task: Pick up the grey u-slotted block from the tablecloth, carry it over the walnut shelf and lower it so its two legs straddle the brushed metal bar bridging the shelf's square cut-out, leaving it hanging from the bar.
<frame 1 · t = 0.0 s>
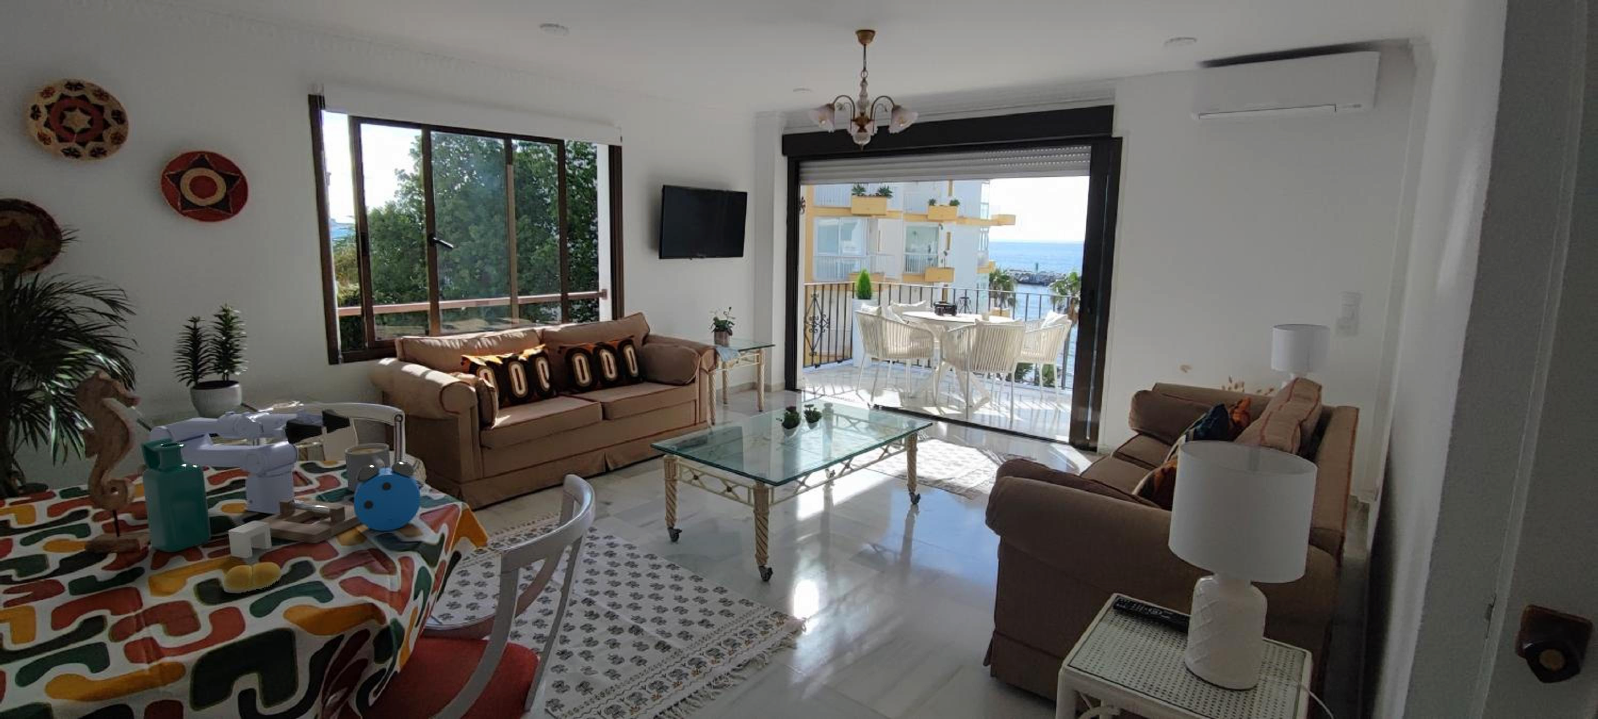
hand: (334, 426, 175), 22 cm above the table, tool horizontal, fingers open, 7 cm apart
bread roll: (252, 585, 145), on the table
coffee mug: (371, 488, 198), on the table
teal bottle: (180, 543, 162), on the table
alarm clock: (389, 527, 173), on the table
grey u-slotted block: (251, 551, 159), on the table
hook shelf: (313, 524, 173), on the table
hook bar: (312, 508, 172), point 3 cm above the table
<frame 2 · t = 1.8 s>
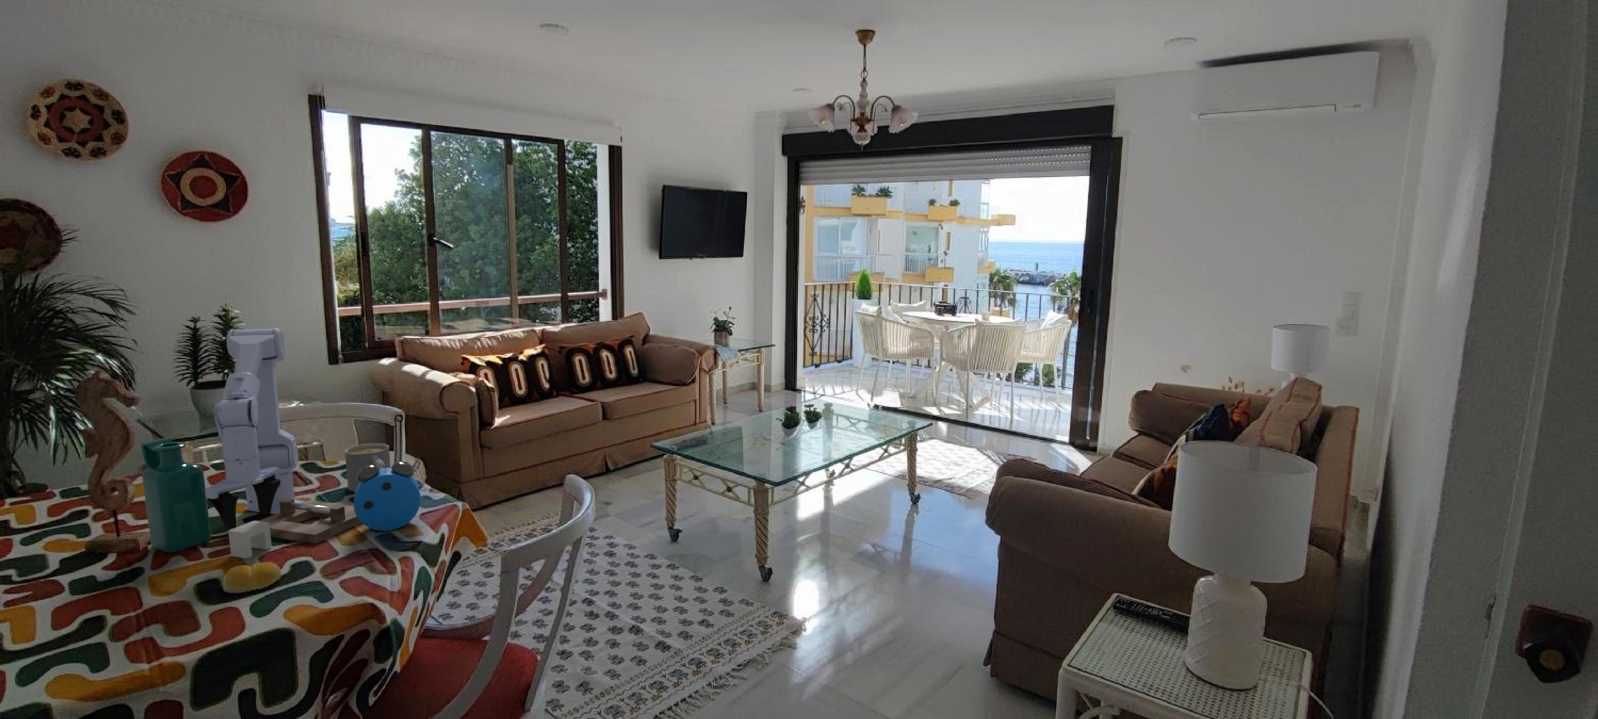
hand: (248, 520, 158), 7 cm above the table, tool pointing down, fingers open, 7 cm apart
nothing on the table moved.
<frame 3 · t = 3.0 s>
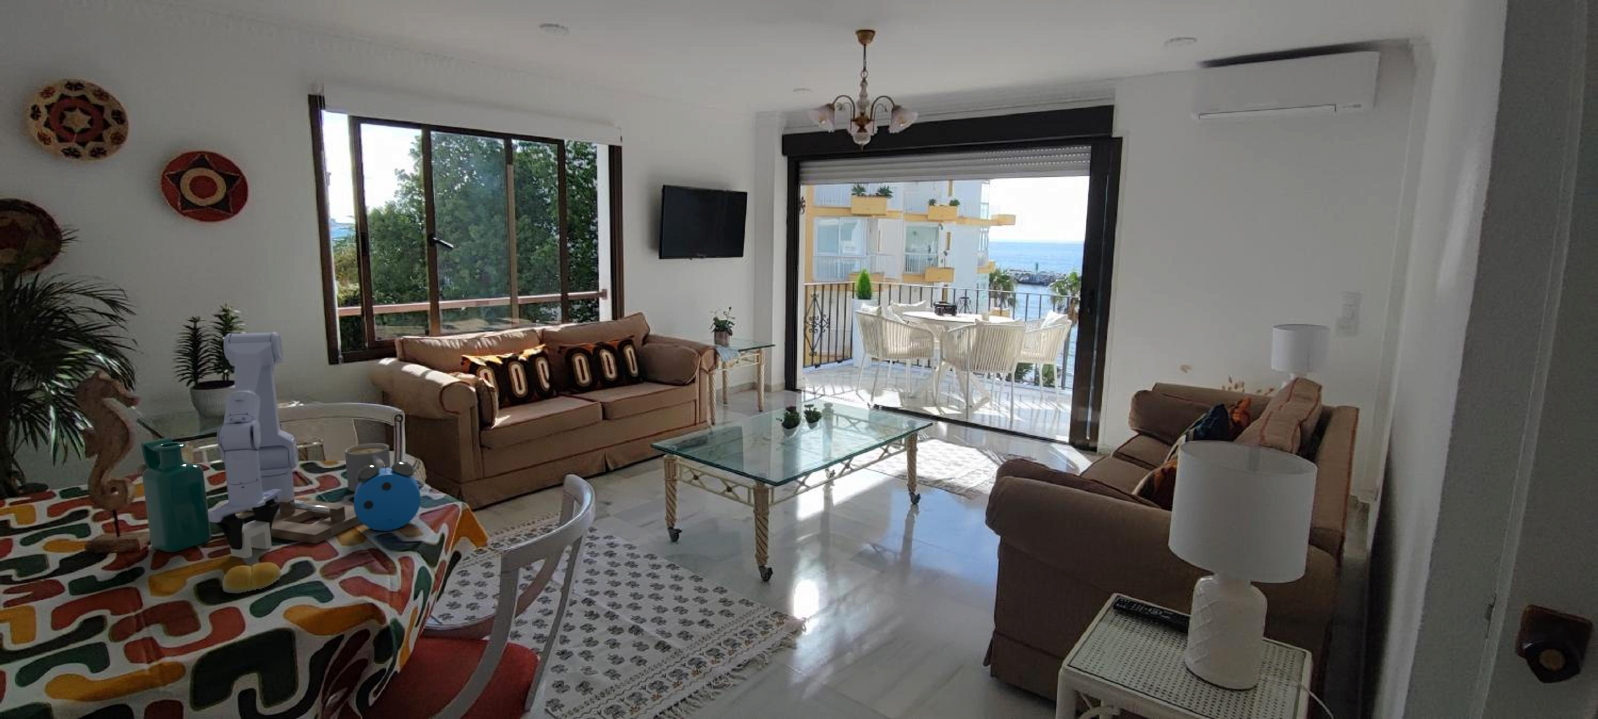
hand: (250, 542, 159), 2 cm above the table, tool pointing down, fingers closed on grey u-slotted block, 6 cm apart
grey u-slotted block: (251, 551, 159), on the table, touching gripper
everything else where it was.
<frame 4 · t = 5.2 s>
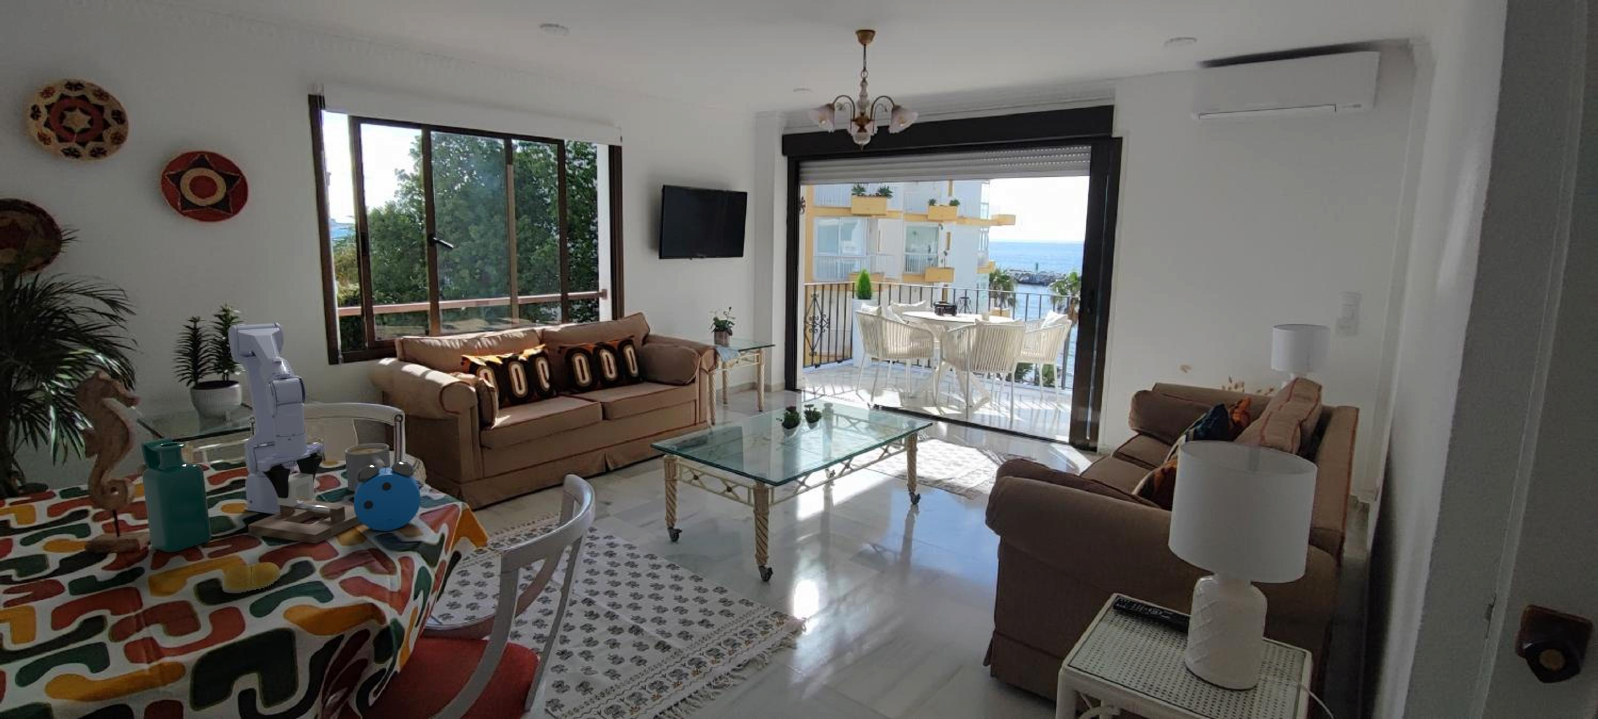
hand: (295, 492, 168), 9 cm above the table, tool pointing down, fingers closed on grey u-slotted block, 6 cm apart
grey u-slotted block: (296, 501, 169), point 7 cm above the table, touching gripper
everything else where it was.
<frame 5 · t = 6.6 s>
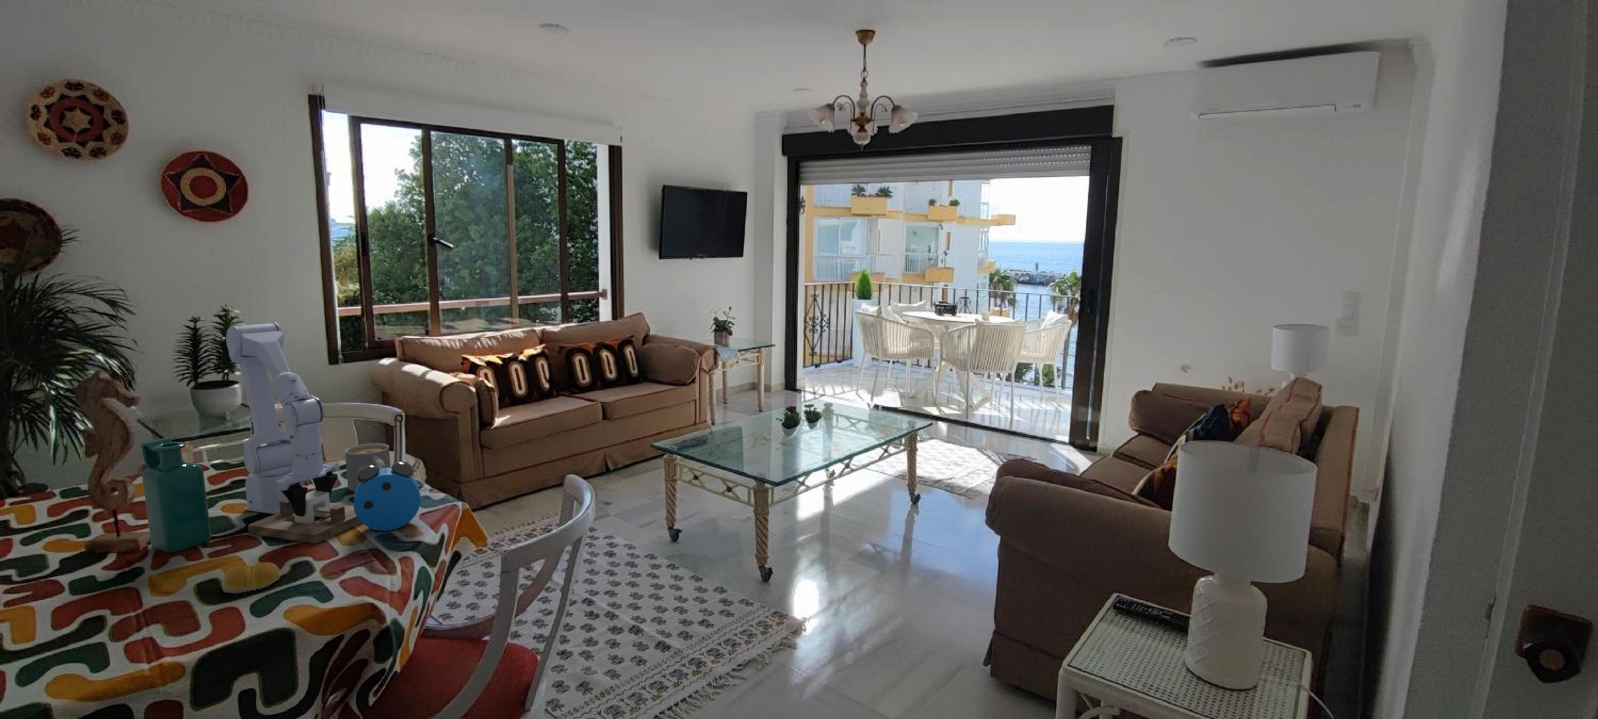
hand: (312, 510, 173), 3 cm above the table, tool pointing down, fingers closed on grey u-slotted block, 6 cm apart
grey u-slotted block: (313, 518, 173), point 1 cm above the table, touching gripper
everything else where it was.
when the fingers open (3 cm above the table, at t = 7.5 s): grey u-slotted block stays where it is, resting on hook bar.
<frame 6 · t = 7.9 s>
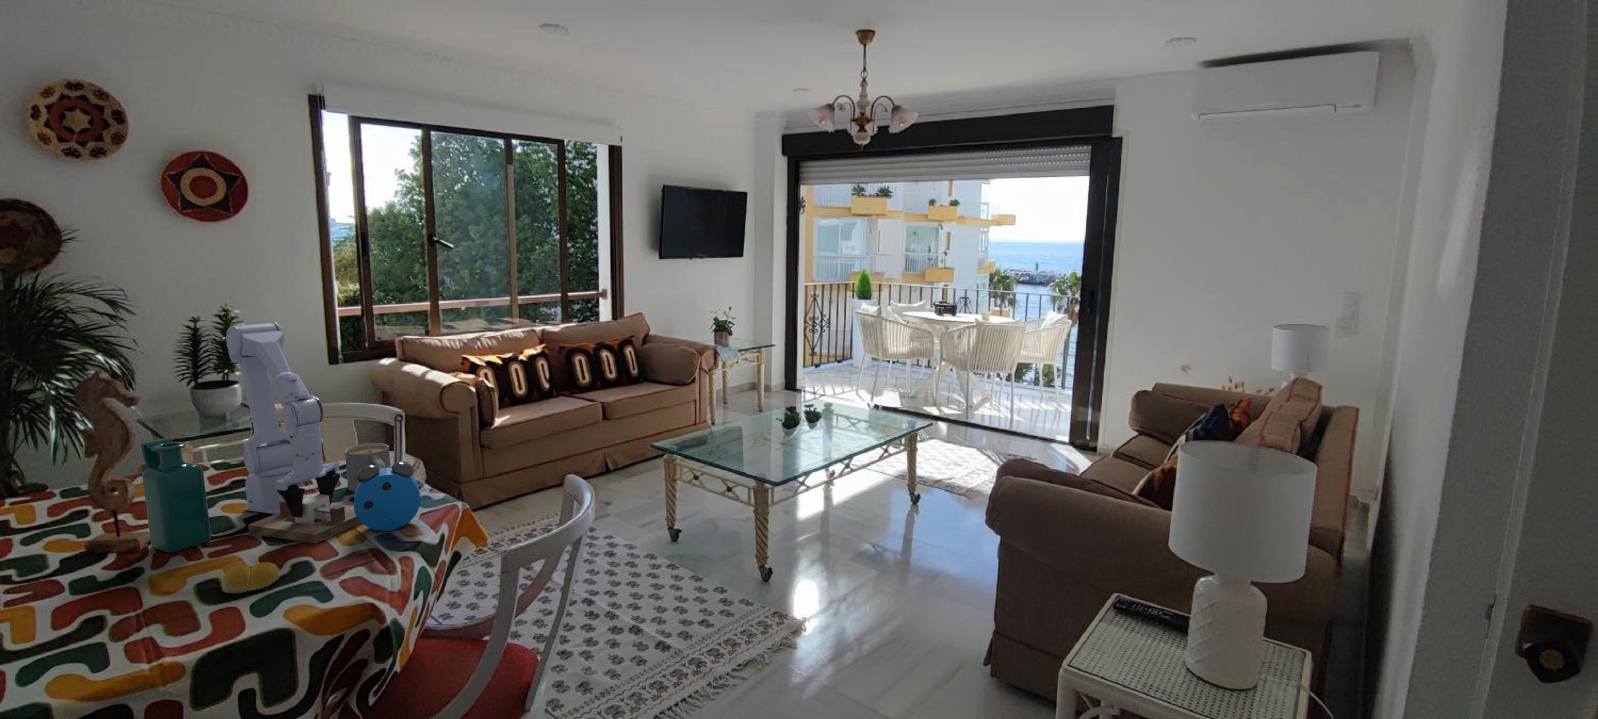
hand: (312, 510, 173), 3 cm above the table, tool pointing down, fingers open, 7 cm apart
grey u-slotted block: (313, 521, 173), point 1 cm above the table, touching hook bar
everything else where it was.
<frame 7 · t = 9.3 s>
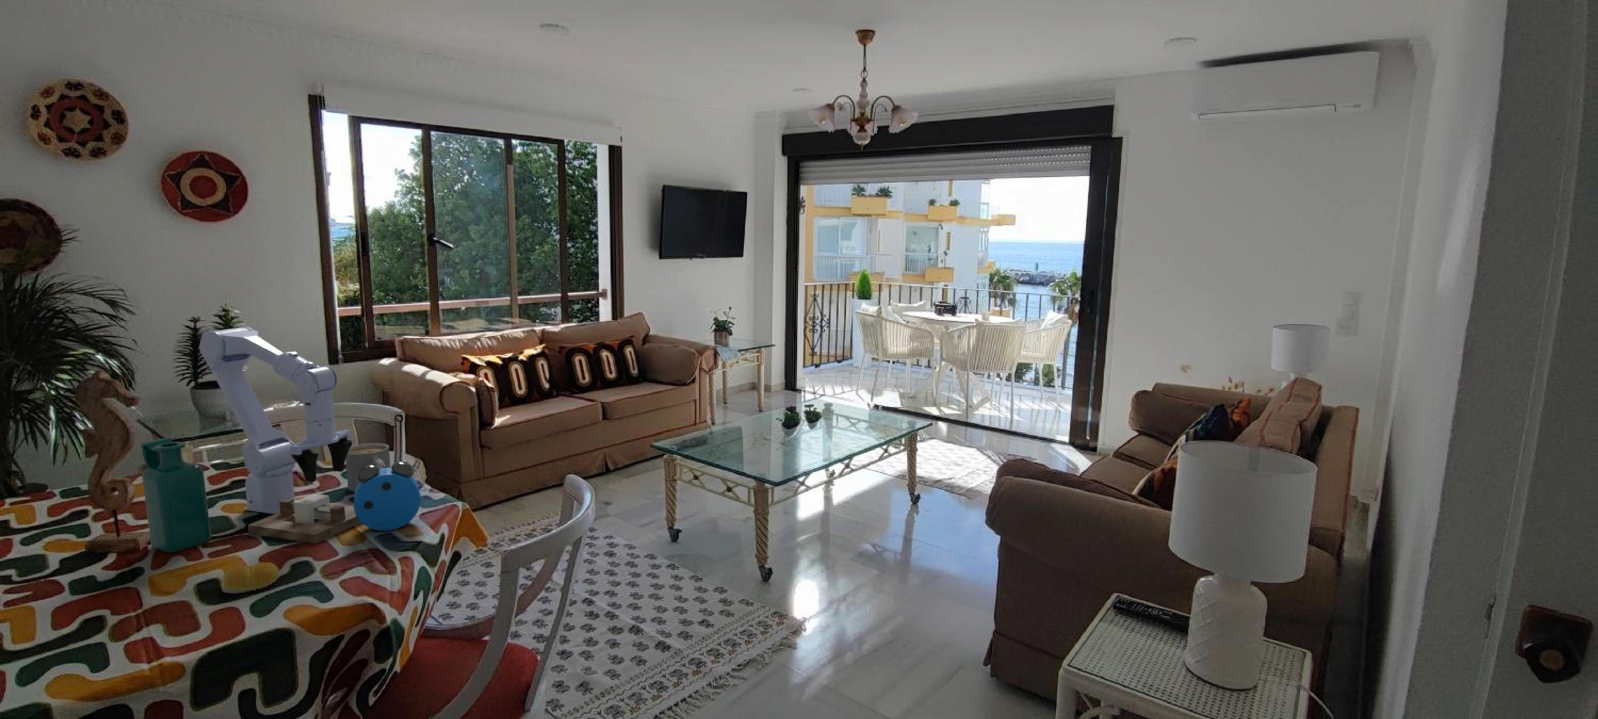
hand: (325, 476, 178), 9 cm above the table, tool pointing down, fingers open, 7 cm apart
nothing on the table moved.
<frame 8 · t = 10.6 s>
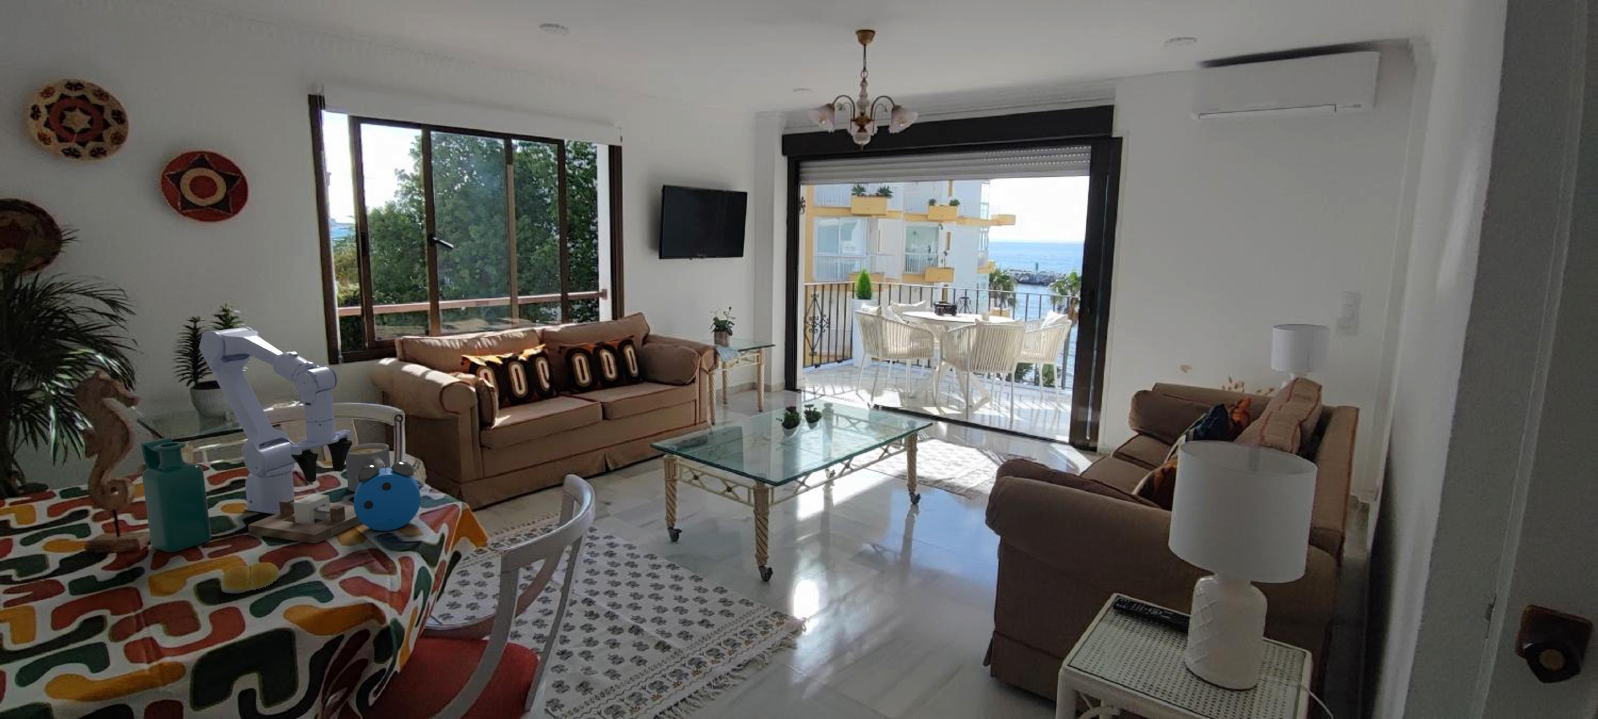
hand: (325, 476, 178), 9 cm above the table, tool pointing down, fingers open, 7 cm apart
nothing on the table moved.
at the end: grey u-slotted block 0.1 cm off-centre on the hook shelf, point 0.7 cm above the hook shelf's base; grey u-slotted block touching hook bar; the gripper is holding nothing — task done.
